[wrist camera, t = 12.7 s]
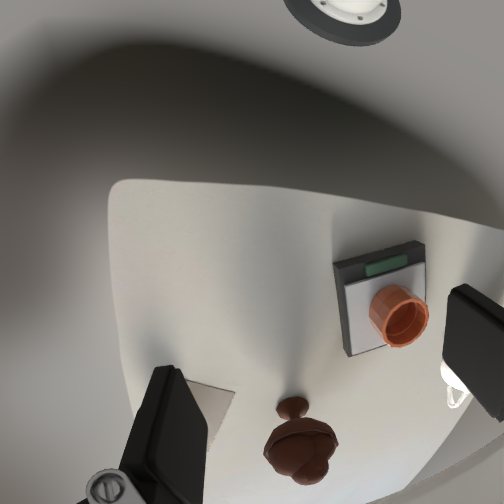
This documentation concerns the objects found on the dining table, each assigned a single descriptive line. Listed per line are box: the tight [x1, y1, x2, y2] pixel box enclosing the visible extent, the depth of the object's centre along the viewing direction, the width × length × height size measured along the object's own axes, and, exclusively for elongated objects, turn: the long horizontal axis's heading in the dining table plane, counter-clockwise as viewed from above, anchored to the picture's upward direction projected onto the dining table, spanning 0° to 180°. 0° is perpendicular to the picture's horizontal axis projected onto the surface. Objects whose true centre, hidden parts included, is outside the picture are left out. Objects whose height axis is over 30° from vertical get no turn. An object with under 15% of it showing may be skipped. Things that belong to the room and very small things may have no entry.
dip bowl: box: [369, 284, 429, 348], centre depth 35 cm, size 7×7×5 cm
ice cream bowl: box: [263, 397, 339, 485], centre depth 38 cm, size 11×11×15 cm
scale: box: [333, 240, 426, 357], centre depth 38 cm, size 14×13×3 cm
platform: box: [186, 381, 235, 452], centre depth 42 cm, size 12×18×7 cm, turn 161°
